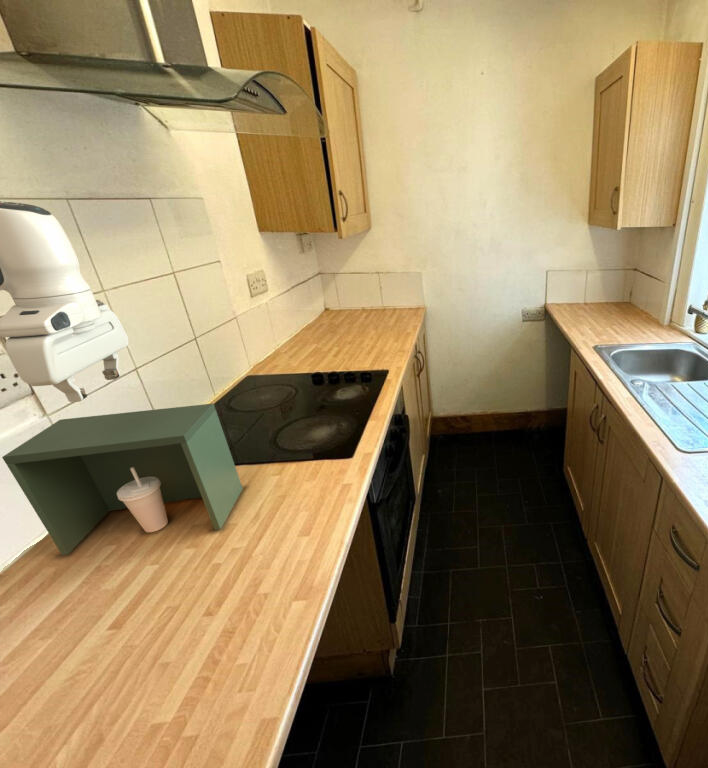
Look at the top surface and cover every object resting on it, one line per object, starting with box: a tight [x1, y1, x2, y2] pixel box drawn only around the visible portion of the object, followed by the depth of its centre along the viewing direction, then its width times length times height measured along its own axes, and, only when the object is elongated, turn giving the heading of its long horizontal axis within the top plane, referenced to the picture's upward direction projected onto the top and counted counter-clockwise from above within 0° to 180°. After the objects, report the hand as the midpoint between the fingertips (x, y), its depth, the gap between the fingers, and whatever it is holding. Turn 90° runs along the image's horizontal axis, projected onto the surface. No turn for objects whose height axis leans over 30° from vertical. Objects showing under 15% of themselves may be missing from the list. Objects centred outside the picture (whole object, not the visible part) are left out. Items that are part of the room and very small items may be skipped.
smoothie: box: [117, 467, 169, 533], centre depth 80 cm, size 6×6×14 cm
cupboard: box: [1, 403, 244, 556], centre depth 80 cm, size 26×13×22 cm, turn 104°
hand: (97, 388), depth 73 cm, fingers open, 8 cm apart
